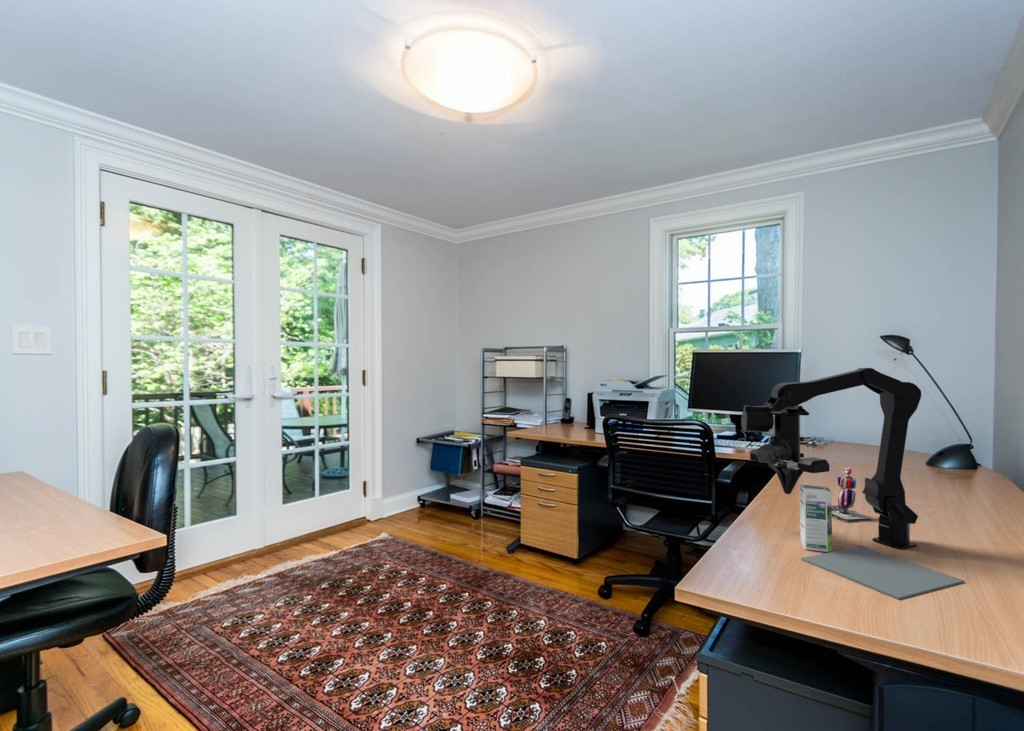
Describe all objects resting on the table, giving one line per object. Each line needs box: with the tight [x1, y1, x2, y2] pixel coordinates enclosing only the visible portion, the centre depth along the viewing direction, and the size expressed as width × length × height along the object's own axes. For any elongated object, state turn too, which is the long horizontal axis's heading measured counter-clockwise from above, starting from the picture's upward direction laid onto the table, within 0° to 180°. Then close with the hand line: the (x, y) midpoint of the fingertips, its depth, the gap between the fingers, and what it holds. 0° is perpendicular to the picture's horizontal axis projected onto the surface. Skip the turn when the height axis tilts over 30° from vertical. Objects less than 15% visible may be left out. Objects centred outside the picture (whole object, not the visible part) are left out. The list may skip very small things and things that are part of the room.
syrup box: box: [799, 484, 833, 553], centre depth 116 cm, size 6×6×14 cm
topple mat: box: [800, 545, 965, 600], centre depth 103 cm, size 20×20×1 cm
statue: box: [832, 467, 873, 523], centre depth 140 cm, size 11×9×15 cm
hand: (787, 493), depth 123 cm, fingers closed
